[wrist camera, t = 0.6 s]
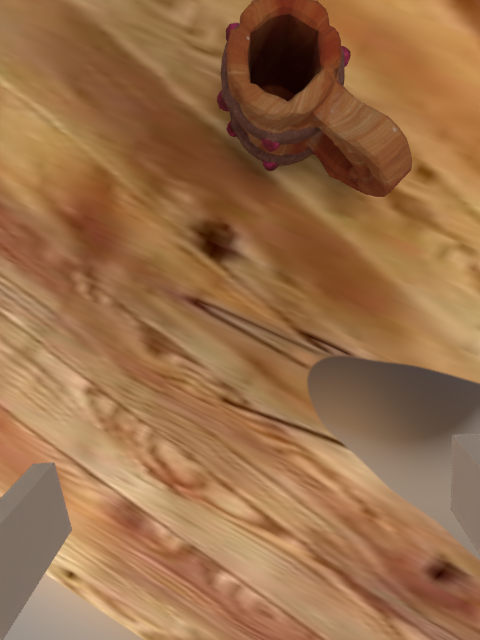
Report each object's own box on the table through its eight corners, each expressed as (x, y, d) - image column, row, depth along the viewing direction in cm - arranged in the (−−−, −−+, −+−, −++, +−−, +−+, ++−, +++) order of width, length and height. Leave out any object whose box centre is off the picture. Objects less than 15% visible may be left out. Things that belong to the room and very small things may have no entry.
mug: (209, 121, 35) (169, 52, 21) (269, 42, 34) (272, -95, 19) (327, 231, 37) (367, 236, 23) (391, 160, 35) (479, 117, 21)
